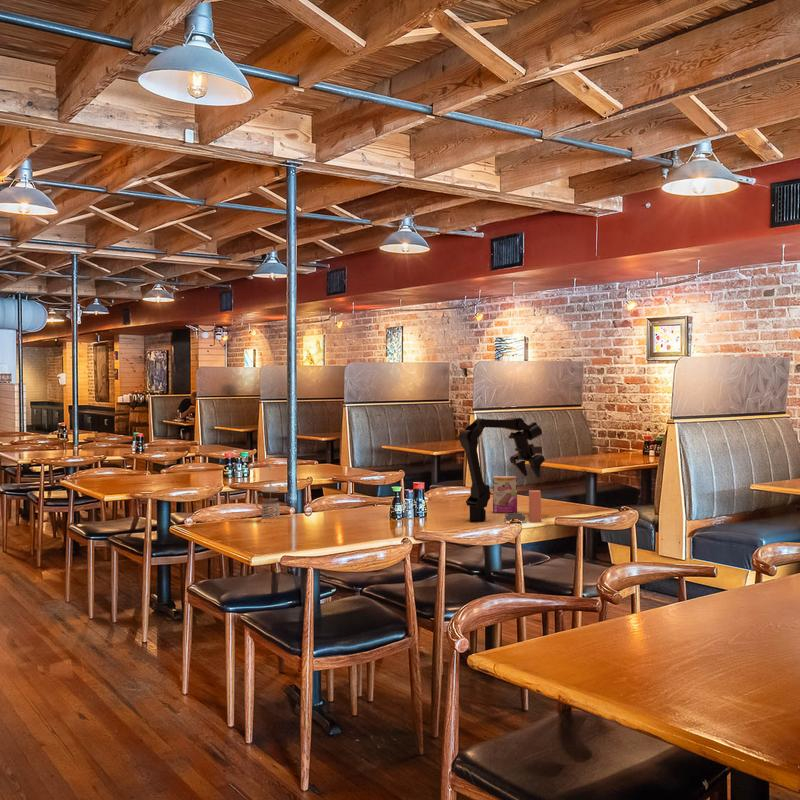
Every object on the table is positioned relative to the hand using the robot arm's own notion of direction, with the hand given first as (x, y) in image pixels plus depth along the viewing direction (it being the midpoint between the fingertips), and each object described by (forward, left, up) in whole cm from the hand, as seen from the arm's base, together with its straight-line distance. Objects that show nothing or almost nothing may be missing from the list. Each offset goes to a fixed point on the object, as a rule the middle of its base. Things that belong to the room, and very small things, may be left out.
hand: (532, 476), depth 372 cm
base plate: (-10, -18, -17) cm, 27 cm away
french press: (-117, -8, -17) cm, 119 cm away
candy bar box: (-12, +9, -17) cm, 23 cm away
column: (-1, -18, -17) cm, 25 cm away
